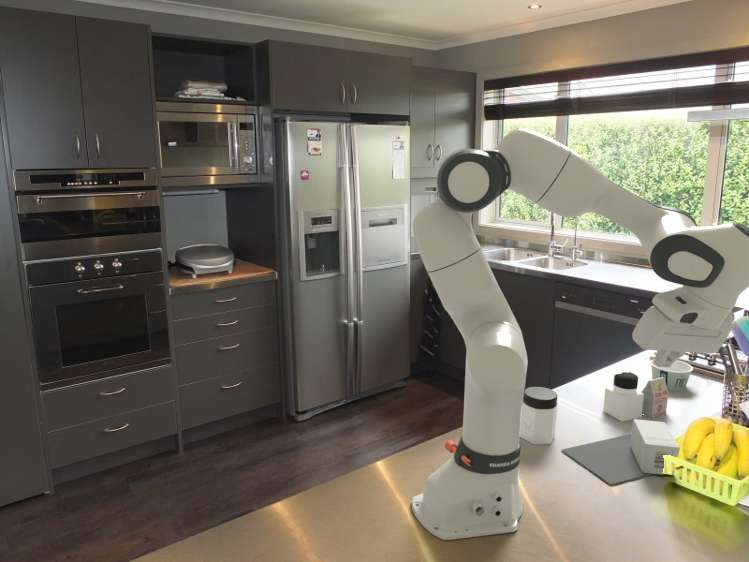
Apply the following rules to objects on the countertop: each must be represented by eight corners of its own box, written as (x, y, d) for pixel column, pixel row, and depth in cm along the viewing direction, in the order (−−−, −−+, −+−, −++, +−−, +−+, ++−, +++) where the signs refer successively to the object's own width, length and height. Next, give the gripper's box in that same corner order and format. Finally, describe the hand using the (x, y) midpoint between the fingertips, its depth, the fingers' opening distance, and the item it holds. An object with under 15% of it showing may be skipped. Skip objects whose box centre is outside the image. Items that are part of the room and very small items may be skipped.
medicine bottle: (641, 418, 159) (646, 376, 157) (621, 422, 157) (626, 380, 154) (622, 407, 166) (626, 367, 163) (602, 411, 163) (606, 370, 160)
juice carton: (638, 412, 163) (642, 378, 160) (654, 407, 166) (658, 374, 164) (650, 417, 160) (654, 383, 157) (665, 412, 163) (670, 379, 161)
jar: (512, 433, 150) (515, 389, 147) (535, 426, 154) (538, 383, 151) (538, 448, 142) (542, 403, 140) (562, 440, 146) (566, 396, 144)
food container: (658, 374, 190) (660, 355, 189) (697, 386, 182) (700, 366, 180) (640, 383, 183) (642, 363, 182) (680, 395, 174) (682, 375, 173)
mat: (610, 485, 127) (610, 484, 127) (561, 451, 141) (561, 449, 141) (684, 466, 135) (684, 464, 135) (630, 435, 150) (630, 433, 149)
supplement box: (681, 447, 128) (665, 420, 140) (645, 443, 130) (632, 417, 142) (676, 477, 130) (661, 448, 142) (641, 473, 131) (628, 445, 143)
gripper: (725, 301, 114) (687, 356, 120) (648, 293, 106) (612, 352, 112) (751, 321, 109) (710, 377, 115) (672, 314, 101) (632, 374, 107)
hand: (661, 365), depth 114 cm, fingers closed
